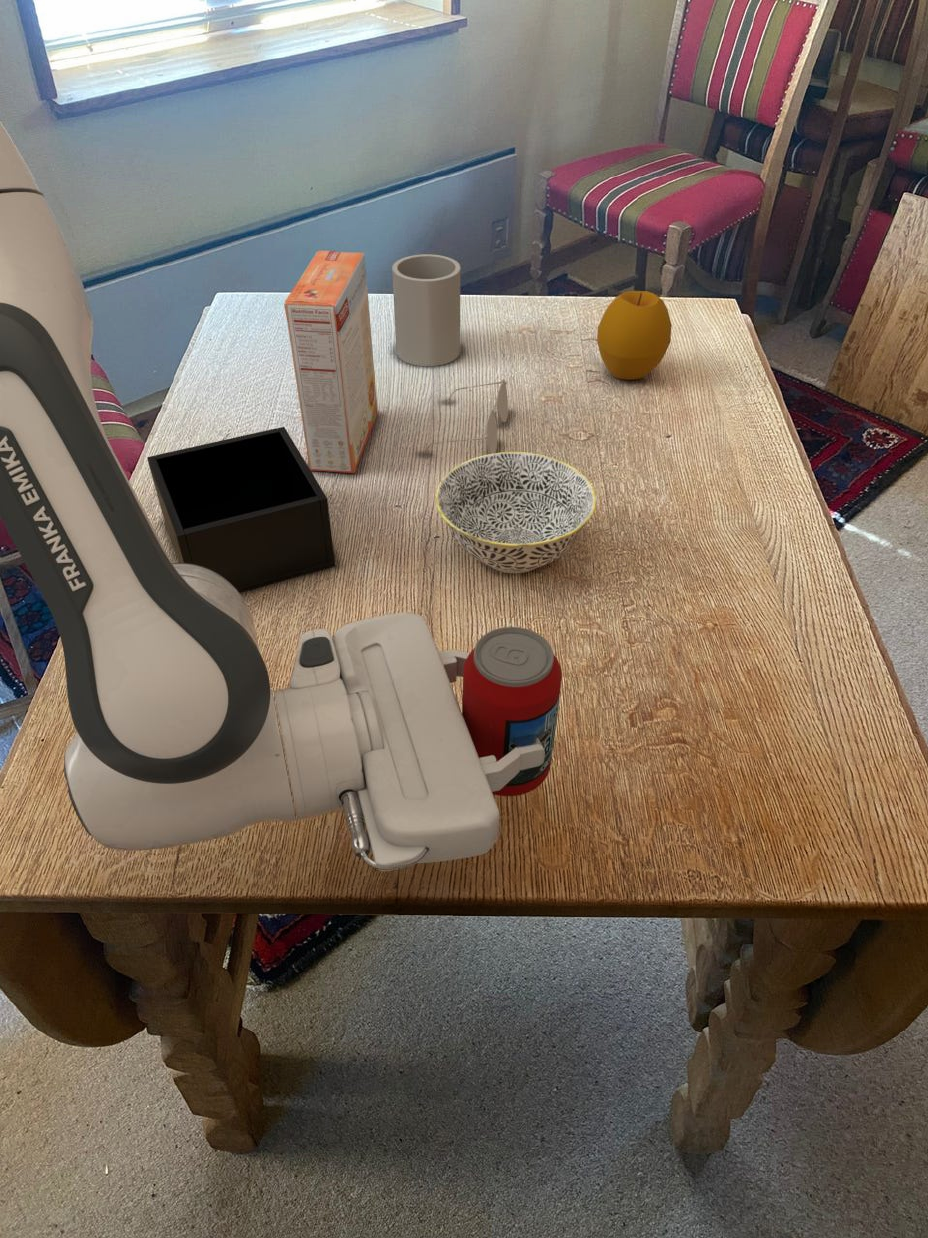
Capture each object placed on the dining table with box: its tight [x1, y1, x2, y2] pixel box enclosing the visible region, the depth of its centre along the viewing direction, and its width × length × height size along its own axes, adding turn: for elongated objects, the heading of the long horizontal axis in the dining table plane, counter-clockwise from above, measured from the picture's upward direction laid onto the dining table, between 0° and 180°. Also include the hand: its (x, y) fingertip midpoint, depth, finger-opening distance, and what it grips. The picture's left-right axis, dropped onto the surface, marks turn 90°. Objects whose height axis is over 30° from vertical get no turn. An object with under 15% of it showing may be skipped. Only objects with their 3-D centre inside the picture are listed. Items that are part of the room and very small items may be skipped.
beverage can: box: [461, 626, 563, 797], centre depth 64 cm, size 7×7×12 cm
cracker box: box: [283, 250, 379, 474], centre depth 104 cm, size 14×6×21 cm, turn 172°
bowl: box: [435, 451, 597, 574], centre depth 93 cm, size 16×16×8 cm
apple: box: [596, 290, 672, 381], centre depth 120 cm, size 10×10×12 cm
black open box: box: [146, 426, 336, 594], centre depth 93 cm, size 15×15×9 cm
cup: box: [391, 253, 461, 367], centre depth 125 cm, size 9×9×12 cm
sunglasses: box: [422, 379, 509, 456], centre depth 112 cm, size 14×8×5 cm, turn 168°
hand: (521, 705), depth 64 cm, fingers closed on beverage can, 7 cm apart
